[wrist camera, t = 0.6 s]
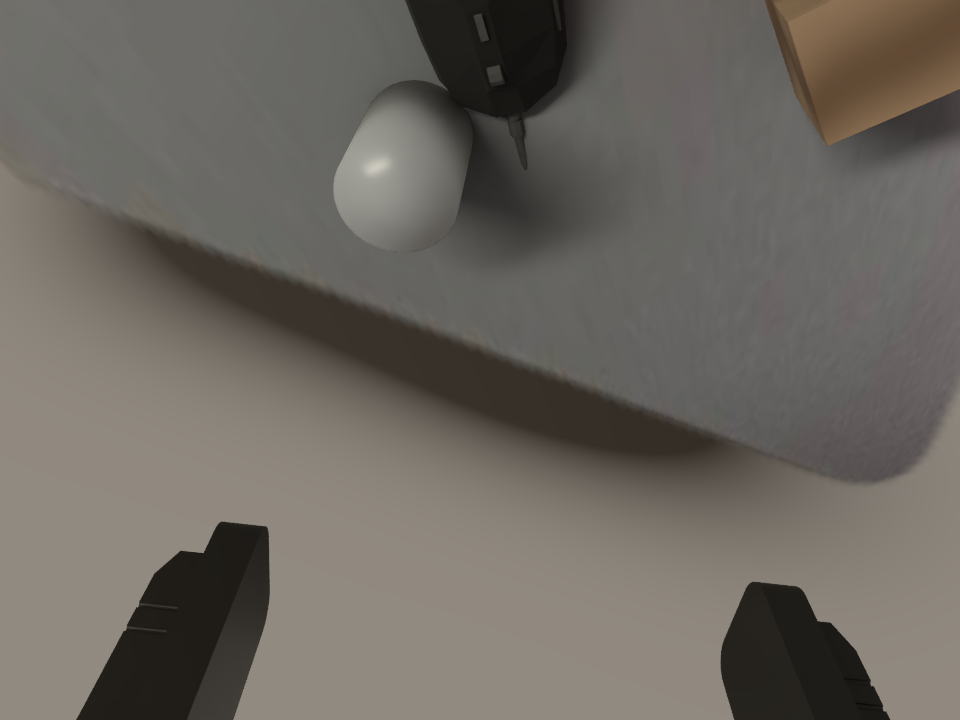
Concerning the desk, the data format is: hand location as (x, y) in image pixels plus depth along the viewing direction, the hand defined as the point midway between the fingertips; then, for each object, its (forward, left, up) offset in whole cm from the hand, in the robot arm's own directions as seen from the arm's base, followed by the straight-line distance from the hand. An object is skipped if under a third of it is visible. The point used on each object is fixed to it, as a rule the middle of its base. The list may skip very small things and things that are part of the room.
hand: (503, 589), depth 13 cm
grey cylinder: (+2, -6, -25) cm, 26 cm away
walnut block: (+1, +12, -25) cm, 28 cm away
